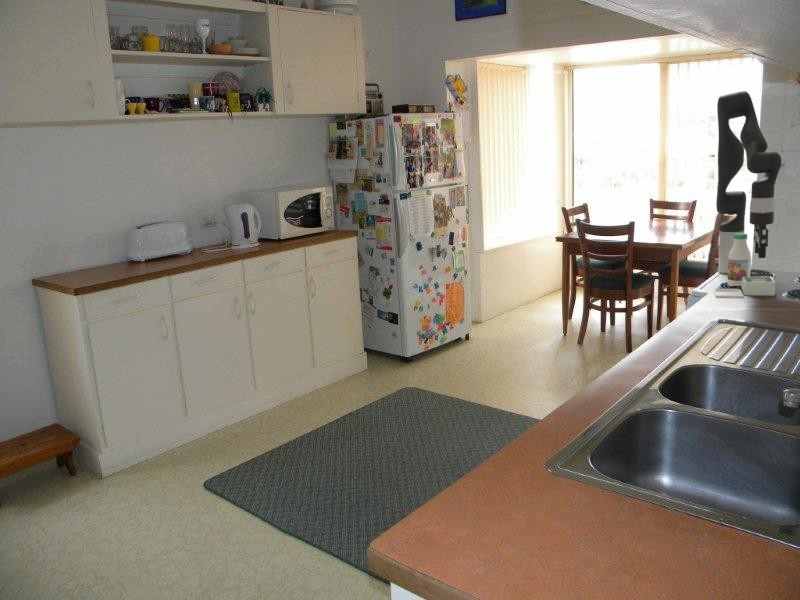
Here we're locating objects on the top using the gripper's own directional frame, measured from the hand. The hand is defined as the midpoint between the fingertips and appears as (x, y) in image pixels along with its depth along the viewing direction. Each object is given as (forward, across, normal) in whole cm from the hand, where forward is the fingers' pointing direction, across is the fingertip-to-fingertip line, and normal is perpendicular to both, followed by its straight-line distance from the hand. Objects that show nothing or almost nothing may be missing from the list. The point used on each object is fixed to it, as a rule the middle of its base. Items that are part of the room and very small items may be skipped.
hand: (760, 255), depth 247 cm
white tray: (+14, +3, -10) cm, 18 cm away
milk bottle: (+14, -12, -5) cm, 19 cm away
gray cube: (+14, 0, 0) cm, 14 cm away
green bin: (+14, 0, 0) cm, 14 cm away
